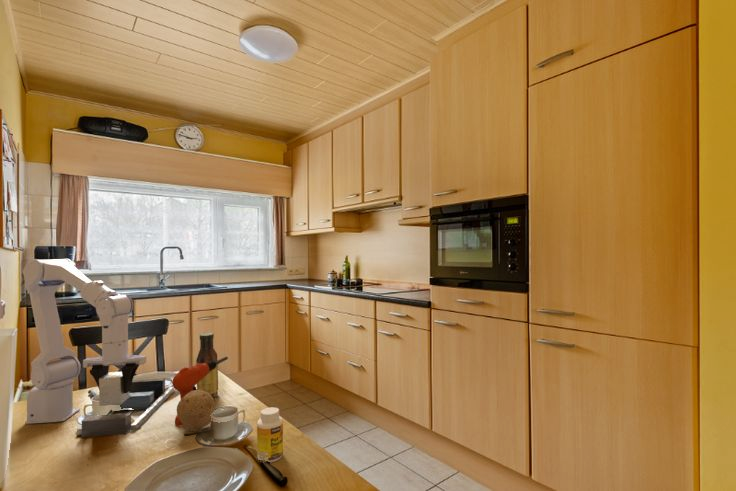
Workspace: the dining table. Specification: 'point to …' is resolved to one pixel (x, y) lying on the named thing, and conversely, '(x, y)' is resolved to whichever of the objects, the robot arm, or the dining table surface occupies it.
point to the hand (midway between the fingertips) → (115, 392)
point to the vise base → (118, 420)
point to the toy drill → (192, 379)
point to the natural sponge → (195, 410)
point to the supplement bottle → (270, 435)
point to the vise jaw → (144, 393)
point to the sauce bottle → (204, 356)
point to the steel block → (112, 389)
